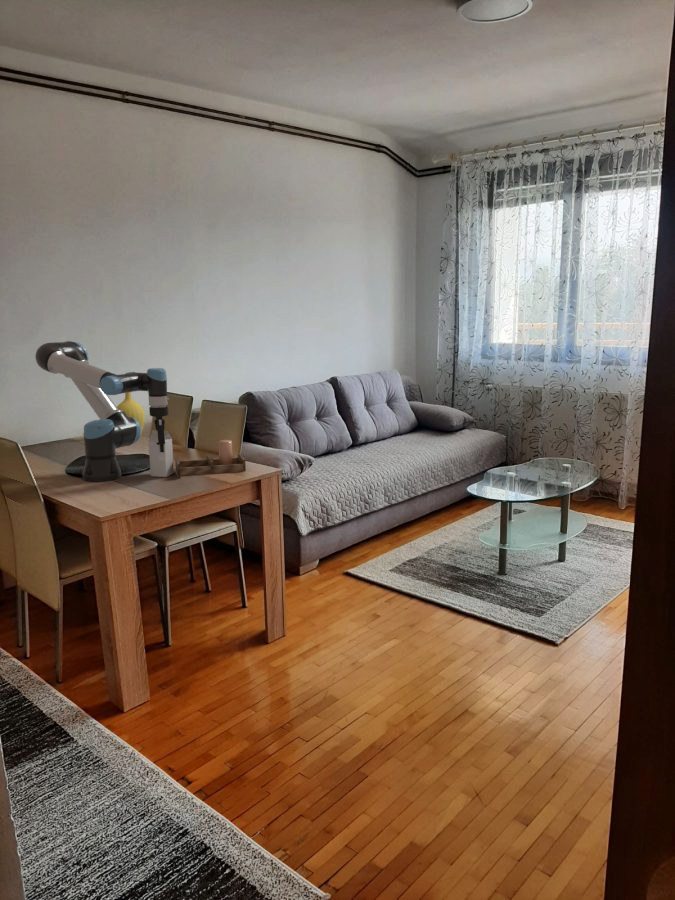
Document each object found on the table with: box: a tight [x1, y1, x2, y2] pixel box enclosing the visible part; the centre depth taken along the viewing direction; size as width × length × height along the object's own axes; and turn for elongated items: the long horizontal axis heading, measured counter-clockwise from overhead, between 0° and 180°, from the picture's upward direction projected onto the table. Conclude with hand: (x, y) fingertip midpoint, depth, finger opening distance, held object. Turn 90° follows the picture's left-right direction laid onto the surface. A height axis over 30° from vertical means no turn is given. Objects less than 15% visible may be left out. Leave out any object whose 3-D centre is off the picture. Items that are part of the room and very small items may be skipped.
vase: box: [116, 392, 146, 437], centre depth 358 cm, size 16×16×28 cm
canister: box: [218, 439, 233, 465], centre depth 284 cm, size 6×6×12 cm
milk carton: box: [148, 429, 175, 478], centre depth 276 cm, size 7×7×19 cm
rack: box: [174, 452, 247, 479], centre depth 283 cm, size 28×14×6 cm, turn 107°
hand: (161, 456), depth 277 cm, fingers open, 13 cm apart
